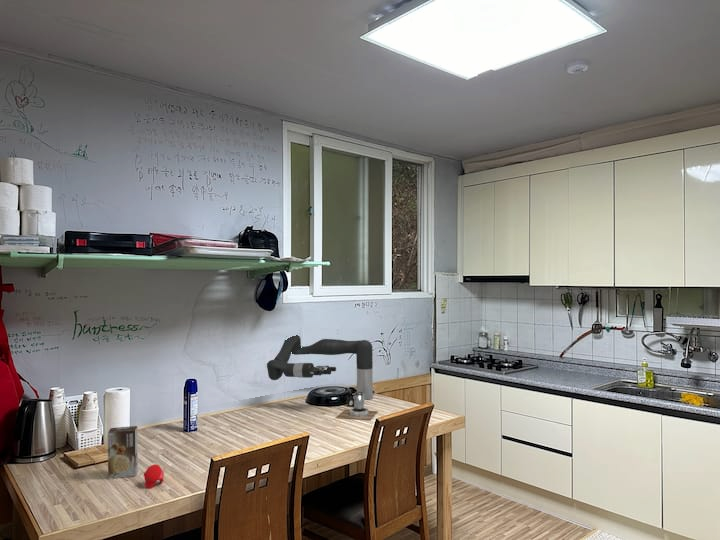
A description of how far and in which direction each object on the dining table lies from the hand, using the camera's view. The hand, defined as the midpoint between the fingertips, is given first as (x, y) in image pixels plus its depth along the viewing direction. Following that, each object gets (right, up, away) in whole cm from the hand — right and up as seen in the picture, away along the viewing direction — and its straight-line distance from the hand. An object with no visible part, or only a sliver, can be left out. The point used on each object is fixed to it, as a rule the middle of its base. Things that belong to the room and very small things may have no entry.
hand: (333, 370), depth 260 cm
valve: (+12, -23, +15) cm, 30 cm away
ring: (+13, -21, -6) cm, 25 cm away
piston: (+13, -21, -6) cm, 25 cm away
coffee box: (-70, -21, -81) cm, 109 cm away
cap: (-56, -21, -90) cm, 108 cm away
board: (+12, -22, -6) cm, 26 cm away
